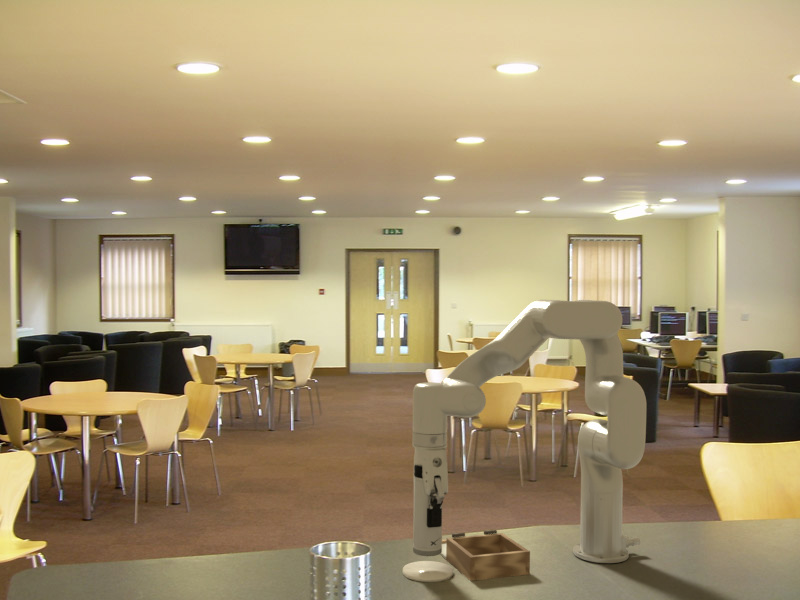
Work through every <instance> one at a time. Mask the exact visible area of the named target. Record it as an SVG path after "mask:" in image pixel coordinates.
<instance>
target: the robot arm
mask: <svg viewBox="0 0 800 600" xmlns="http://www.w3.org/2000/svg"><path fill="white" fill-rule="evenodd" d="M622 326H623V315H622V312H621V310H620V308H619V307H618V306H617V304H615V303H612V302H611V301H608V300H607V301H606V300H594V299H593V300H592V299H577V300H560V299H538V300H534V301H532V302H531V303H528V305H527V306H525V307H524V308H523V309H522V311H520V313H519V314H517V316H516V317H514V319H513V320H512V321H511V322H509V324H508V325H507V326H505V328H504V329H503V330H502V331H501V332H500V333H499V334H497V336H495V338H494V339H493V340H491V341H490V342H488V343H487V344H485V345H484V346H483V347H481V348H480V349H478V350H476V351H475V352H473V353H472V354H471V355H469V356H467V357H466V358H465V359H464V360H462V361H461V362H460V363H458V365H457V366H455V368H454V369H453V370H452V371H451V372H450V373H448V375H446V376H445V378H444V379H443V381H441V383H439V382H419V383H416V384H415V385H414V387H413V389H412V390H413V391H412V439H411V440H412V442H411V443H412V444H411V445H412V446H411V447H412V448H414V453H413V454H414V455H413V466H414V465H418V466H422V479H423V488H424V493H425V494H426V495H427V496H428V505H429V508H427V527H428V528H432V527H441V526H442V527H443V503H444V499H445V495H448V493H449V475H448V474H449V473H448V472H449V470H448V459H447V458H448V457H447V450H446V448H448V416H449V417H457V418H473V417H476V416H478V415H479V414H481V413H482V412H483V410H484V409H485V407H486V404H487V398H486V395H485V393H484V390H482V388H480V387H482V386H483V385H485V384H486V383H487V382H488V381H490V380H492V379H493V378H496V377H498V376H502V375H504V374H508V373H511V372H514V371H516V370H519V368H521V367H523V366H524V365H525V363H526V362H527V361H528V360H529V359H530V357H531V356H533V354H535V352H536V351H538V350H539V348H540V347H541V346H542V345H543V344H544V343H545V342H546V341H548V340H549V339H556V340H557V339H558V340H579V342H580V343H581V345H582V346H583V350H584V354H585V376H584V377H585V380H584V381H585V382H584V401H585V404H586V406H587V407H588V409H589V410H591V411H592V412H594V413H597V414H600V415H603V416H605V417H606V419H602V418H597V419H592V420H589V421H587V422H586V423H584V424H583V425H582V427H581V428H580V430H579V432H578V436H577V451H578V456H579V464H580V523H579V524H580V528H579V529H580V530H579V533H580V534H579V536H580V537H579V543H578V544H575V545H574V546H573V547H572V548H573V550H572V552H573V555H574V556H575V557H577V558H578V559H581V560H585V561H587V562H591V563H598V564H599V563H600V564H617V563H621V562H625V561H626V560H628V559H629V554H630V553H629V551H628V550H627V549H628V548H629V546H632V547H635V546H637V547H638V546H640V544H641V539H640V537H639V536H633V537H632V536H631V537H629V535H623V494H624V493H623V491H624V481H623V480H624V479H623V478H624V477H623V472H622V470H629V469H632V468H634V467H636V466H638V464H640V462H641V460H642V458H643V456H644V453H645V448H646V439H647V438H646V435H647V399H646V395H645V391H644V389H643V388H642V386H641V384H639V382H637V381H636V380H634V379H632V378H630V377H625V376H624V351H623V347H622V343H621V339H620V338H619V336H618V333H619V331H620V330H621V328H622ZM414 472H415V471H414V468H413V474H412V475H413V476H412V477H413V478H412V481H414ZM431 490H435V491H436V493H435V494H431ZM432 497H436V498H434V500H433V502H432Z"/></svg>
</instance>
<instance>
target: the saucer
mask: <svg viewBox="0 0 800 600" xmlns="http://www.w3.org/2000/svg"><path fill="white" fill-rule="evenodd" d="M402 574H403V576H404V577H405V578H407V579H409V580H412V581H414V582H415V581H416V582H423V583H436V582H443V581H447V580H449V579H451V578H452V577H453V576H454V568H453V567H452V565H449V564H446V563H444V562H441V561H440V562H439V561H433V560H419V561H414V562H409V563H407V564H405V565H404V566H403V567H402Z"/></svg>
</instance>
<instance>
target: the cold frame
mask: <svg viewBox="0 0 800 600" xmlns="http://www.w3.org/2000/svg"><path fill="white" fill-rule="evenodd" d="M439 556H441V557H442V556H443V557H442V558H444V560H446V562H448V563H449V564H450V563H451V564H450V565H451V566H453V567H454V568H455V569H456V570H458V572H460V574H462V575H463V576H464V577H465V578H466V579H468V580H469V581H471V582H472V581H473V582H474V581H481V580H488V579H489V580H491V579H500V578H508V577H517V576H525V575H526V576H528V575H530V572H531V569H530V568H531V564H530V563H531V551H530V550H528V549H527V548H526V547H524V546H523V545H521V544H520V543H518V542H517V541H515V540H514V539H512V538H511V537H509V536H508V535H506V534H504V532H499V533H498V531H497V529H492V530H483V534H477V535H476V534H475V535H466V532H457V533H455V532H454V533H451V537H446V539H442V552H441V553H440V554H439Z"/></svg>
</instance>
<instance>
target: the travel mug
mask: <svg viewBox="0 0 800 600" xmlns="http://www.w3.org/2000/svg"><path fill="white" fill-rule="evenodd" d="M413 469H414V471H415V472H414V480H413V514H412V515H413V520H412V523H413V525H412V527H413V528H412V533H413V534H412V535H413V536H412V538H413V539H412V551H413V553H414V554H415V555H417V556H421V557H435V556H436V557H437V556H440V553H441V552H442V540H443V525H442V526H441V527H432V528H428V527H427V508H429V505H428V496H427V495H426V494H425V493H424V488H423V479H422V466H418V465H414V464H413ZM435 493H436V491H435V490H431V494H435ZM434 498H436V497H432V502H433V500H434Z"/></svg>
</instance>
